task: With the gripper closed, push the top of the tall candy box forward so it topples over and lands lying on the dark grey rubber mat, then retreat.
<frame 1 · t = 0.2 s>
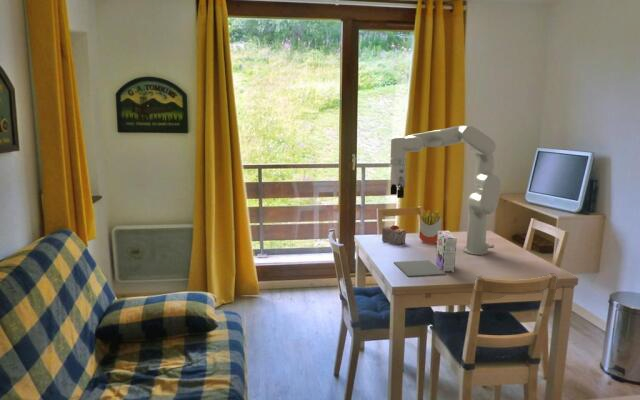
hand: (396, 196, 240), 31 cm above the table, fingers open, 9 cm apart
food item: (393, 242, 271), on the table
candy box: (445, 267, 228), on the table
french fries container: (429, 242, 272), on the table
mat: (418, 268, 226), on the table
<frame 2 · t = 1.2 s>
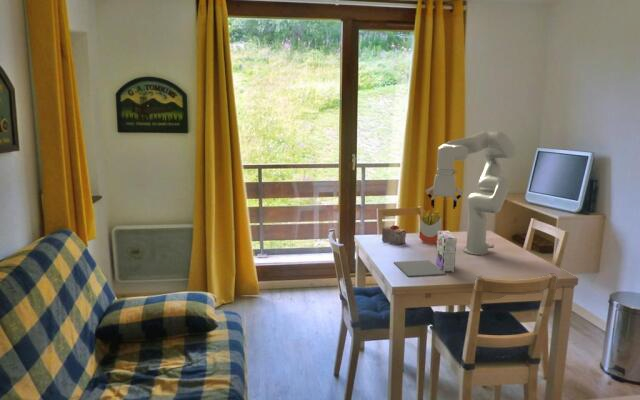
hand: (443, 207, 230), 27 cm above the table, fingers open, 9 cm apart
nothing on the table moved.
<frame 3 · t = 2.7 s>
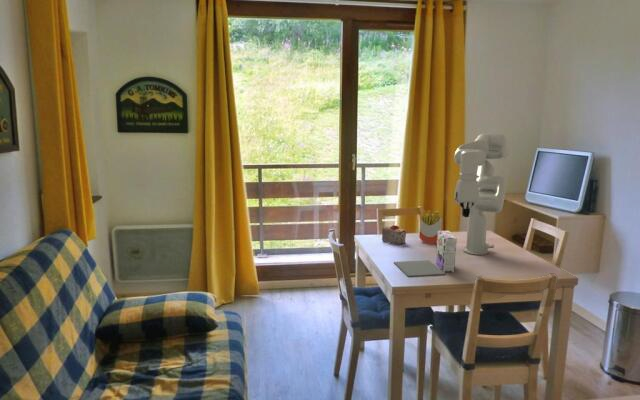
hand: (465, 216, 225), 24 cm above the table, fingers closed
nothing on the table moved.
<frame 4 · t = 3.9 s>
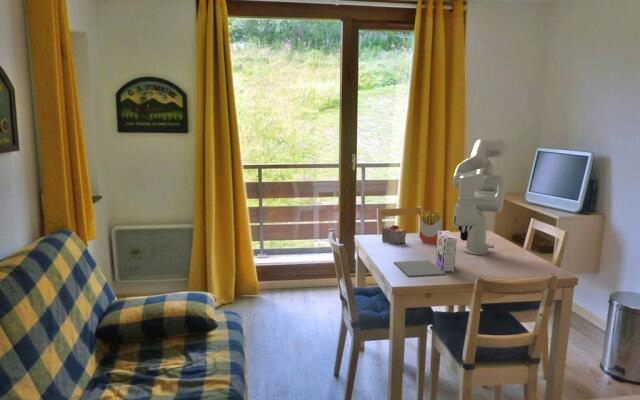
hand: (463, 239, 227), 13 cm above the table, fingers closed
nothing on the table moved.
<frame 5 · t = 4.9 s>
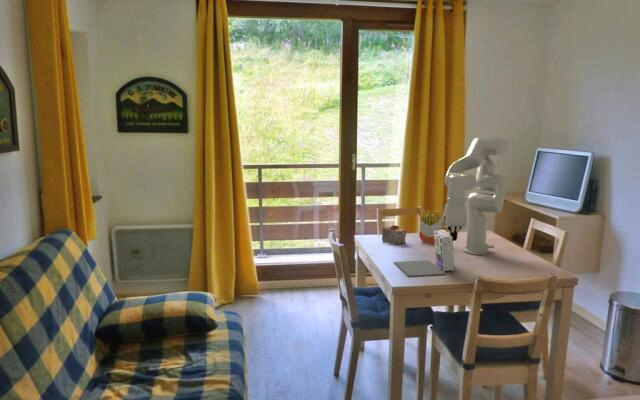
hand: (453, 240, 226), 13 cm above the table, fingers closed
candy box: (445, 267, 228), on the table, touching gripper
everything else where it was.
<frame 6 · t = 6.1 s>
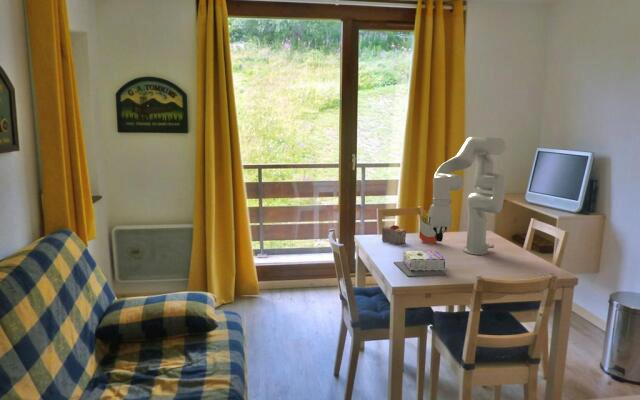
hand: (438, 240, 225), 13 cm above the table, fingers closed
candy box: (440, 260, 228), point 3 cm above the table, touching mat
everything else where it was.
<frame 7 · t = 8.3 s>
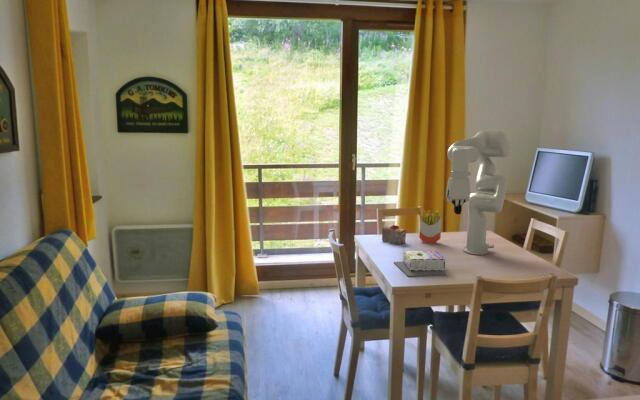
hand: (457, 213, 225), 26 cm above the table, fingers closed
nothing on the table moved.
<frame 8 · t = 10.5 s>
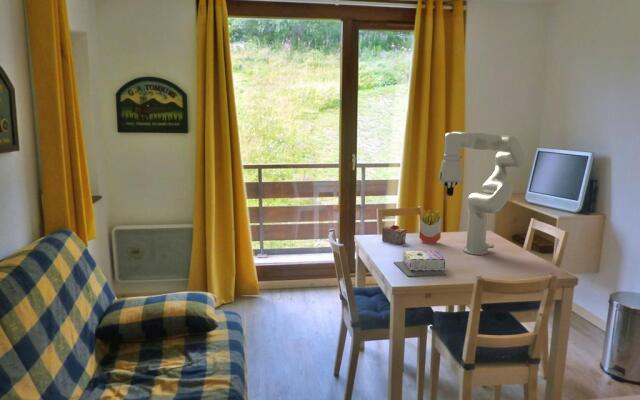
hand: (449, 195, 237), 32 cm above the table, fingers closed
nothing on the table moved.
at the end: candy box tilted 89°; candy box inside the target area (8.0 cm from its centre), point 3.4 cm above the table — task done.
